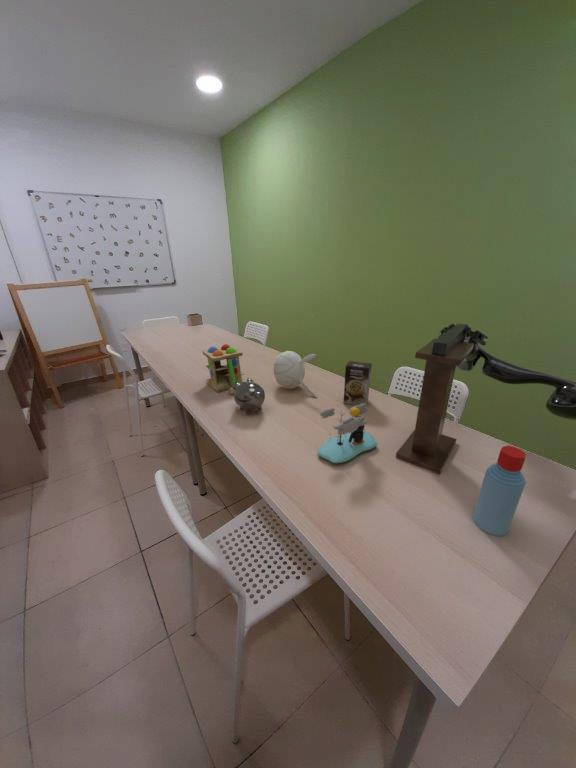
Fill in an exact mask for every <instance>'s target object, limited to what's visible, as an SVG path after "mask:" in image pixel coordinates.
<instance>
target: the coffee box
mask: <svg viewBox="0 0 576 768" xmlns="http://www.w3.org/2000/svg"><path fill="white" fill-rule="evenodd" d="M372 367H373V364H372V363H371V362H362V361H352V360H349V361H347V363H346V365H345V370H344V371H345V372H344V387H343V404H346V405H352V406H356V405H360V404H363V403H365V404H366V405H367V404H368V402H369V395H370V386H371V385H370V384H371V374H372ZM367 406H368V405H367Z"/></svg>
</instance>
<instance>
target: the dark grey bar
mask: <svg viewBox="0 0 576 768" xmlns="http://www.w3.org/2000/svg"><path fill="white" fill-rule="evenodd" d="M454 325H455V326H454V327H453V328H451V329H450V330H449V331H447V332H446V333H445V334H443V335H442V336H441V337H440V338H438V337H437V338H436V339H437V340H436V341H434V343H433V349H432V354H436V355H443V356H445V355H446V354H447V353H448V352H449V351H450V350H451V349H452V348H453V347H454V346H456V345H457V344H458V343H459V342H460V341H461V340H462V339H463V338H464V337H465V336H464V328H465V325H468V326H469V324H465V323H456V324H454ZM469 327H470V326H469Z"/></svg>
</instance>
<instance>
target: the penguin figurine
mask: <svg viewBox="0 0 576 768" xmlns="http://www.w3.org/2000/svg"><path fill="white" fill-rule="evenodd" d="M367 406H368V405H366V404H365V403H363V404H360V405H353V406H352V407H350V408H349V410H348V413H349V416H348V417H347V418H345V419H343V418H342V416H344V413H342V409H341V411H340V412H339V413H340V418H337V420H338V422H337V423H338V424H336V425H333V426H332V429H334V430H336V431H337V435H338V436H336V437H335V436H334V437H329V438H328V439H327V440H326V441H324V442H323V444H322V445H321V446H320V447H319V448H318V449H317V454H318V456H320V458H322V459H325V460H327V461H329V462H331V463H333V464H341V463H345V462H349V461H350V460H352V459H354V458H355V457H356V456H358V455H360V454H361V453H364V452H366V451H370V450H372V449H374V448H376V447H377V446H378V442H377V441H376V440H375V437H374V436H373V435H372V434H371V433H369V432H368V431H366V428H365V427H366V426H365V425H366V424H367V422H368V421H366V420H365V418H364V417H363V416H361V415H363V414H366V412H367V411H368V409H367ZM334 415H335V408H333V407H332V408H328V409H324V410H322V411H321V412H320V416H321V417H322V419H324V420H325V419H327V418H329V417H332V416H334ZM359 415H360V416H359ZM342 419H343V420H342ZM343 435H344V436H343ZM329 436H331V432H329Z"/></svg>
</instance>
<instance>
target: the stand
mask: <svg viewBox="0 0 576 768" xmlns="http://www.w3.org/2000/svg"><path fill="white" fill-rule="evenodd" d="M437 339H438V338H432V340H430V341H429V342H428V343H426V344H425V345H424V346H422V347H421V348H419V350H417V351H416V352H415V356H414V358H415V359H419V360H425V366H424V372H423V378H422V383H421V390H420V397H419V403H418V408H417V413H416V414H417V415H416V421H415V427H414V430H413V431H412V432H411V434H410V435H409V436H408V438H406V440H405V441H404V442H403V444H401V447H400V448H398V450H397V451H396V453H395V458H397V459H399V460H402V461H404V462H407V463H410V464H411V465H415V466H417V467H420V468H423V469H425V470H427V471H430V472H433V473H436V474H438V475H440V474H441V472H442V471H443V469H444V467H445V464H446V462H447V461H448V459H449V457H450V455H451V454H452V452H453V449H454V447H455V446H456V443H457V438H454V437H451V436H448V435H444V434H443V431H444V425H445V421H446V417H447V413H448V412H447V411H448V407H449V406H448V405H449V403H450V402H449V401H450V398H451V397H450V396H451V393H452V392H451V391H452V389H453V383H454V378H455V373H456V369H457V368H456V365H457V366H459V365H460V364H461V362H462V361H463V360H464V359H465V358H466V356H467V355H468V354H469V353H470V352H471V350H472V349H473V346H474V344H472V343H465V342H459V343H458V344H457V345H456V346H454V347H453V348H452V349H451V350H450V351H449V352H448V353H447V354H446V355H445V356H443V355H436V354H432V349H433V343H434V341H436V340H437Z"/></svg>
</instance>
